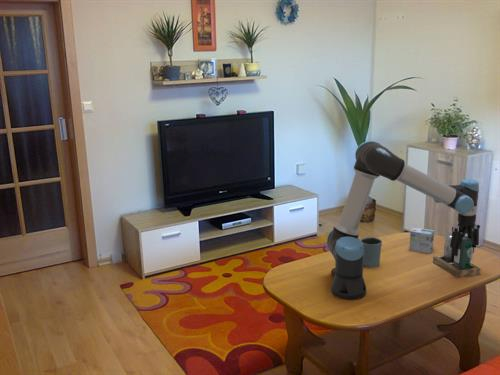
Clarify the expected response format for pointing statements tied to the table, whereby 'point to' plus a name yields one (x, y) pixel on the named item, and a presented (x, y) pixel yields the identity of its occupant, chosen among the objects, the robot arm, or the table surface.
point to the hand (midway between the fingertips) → (462, 260)
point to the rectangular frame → (455, 271)
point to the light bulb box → (421, 240)
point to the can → (465, 254)
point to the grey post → (448, 249)
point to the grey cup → (371, 251)
